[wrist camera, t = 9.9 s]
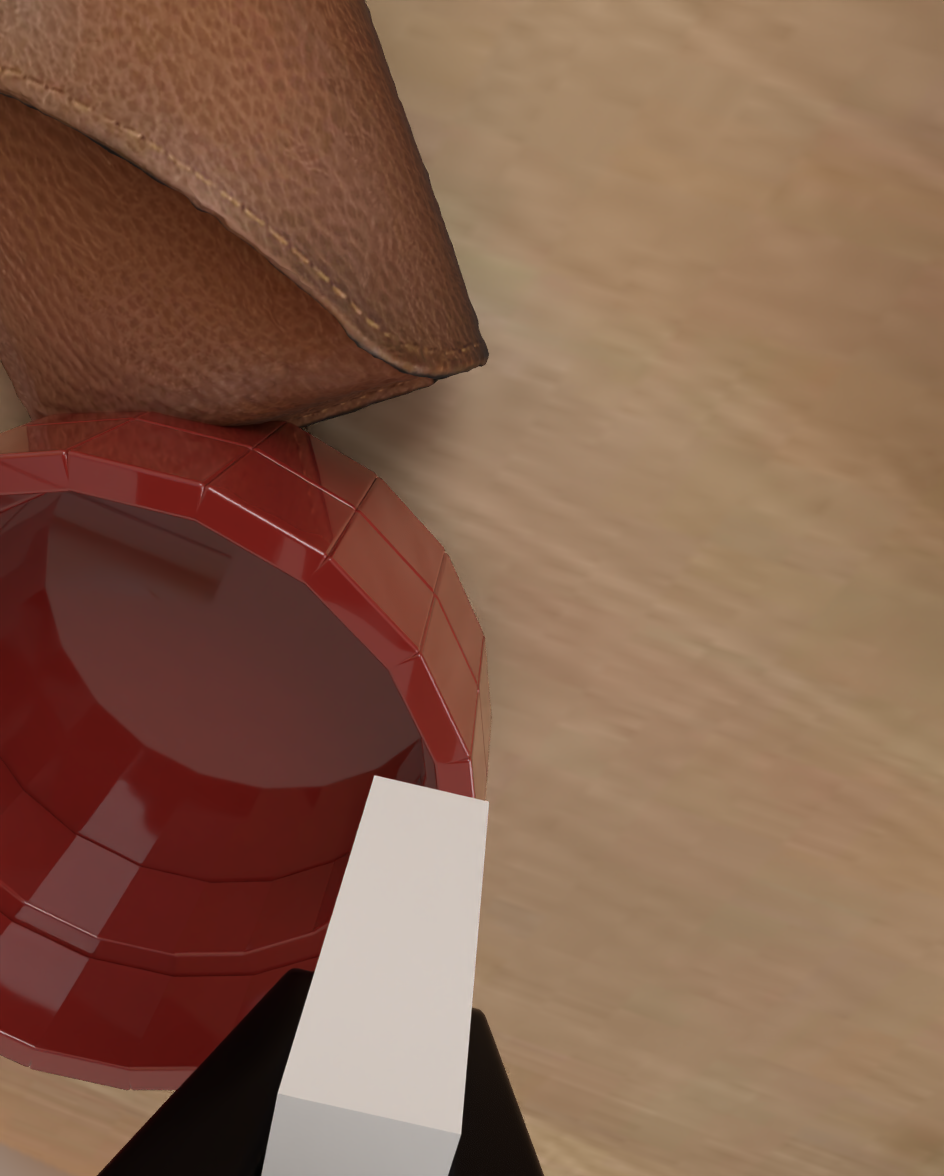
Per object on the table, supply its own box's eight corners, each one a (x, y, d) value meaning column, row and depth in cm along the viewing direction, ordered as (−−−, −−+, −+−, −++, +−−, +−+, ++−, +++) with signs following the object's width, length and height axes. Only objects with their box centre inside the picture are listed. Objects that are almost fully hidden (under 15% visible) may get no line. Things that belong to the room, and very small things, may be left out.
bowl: (423, 951, 21) (394, 1150, 17) (-74, 838, 21) (-245, 1009, 16) (557, 479, 17) (568, 572, 12) (-77, 322, 16) (-315, 357, 12)
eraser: (492, 799, 9) (462, 1138, 6) (403, 1119, 11) (339, 1522, 7) (373, 771, 9) (273, 1094, 6) (304, 1096, 11) (195, 1488, 7)
